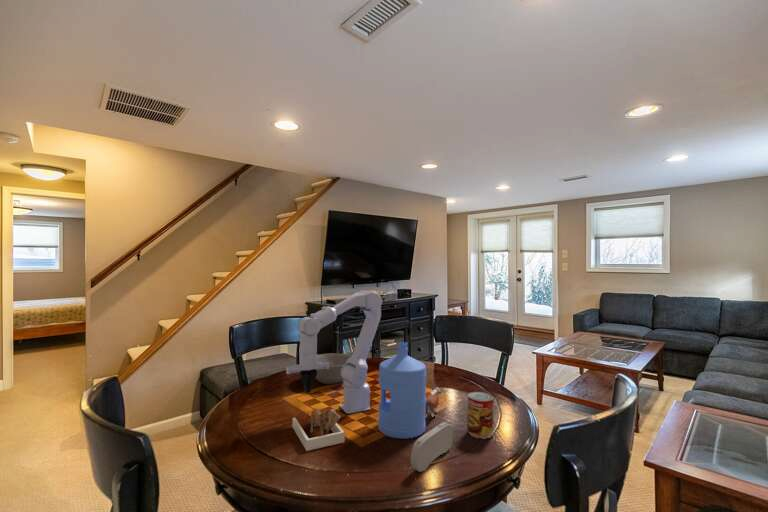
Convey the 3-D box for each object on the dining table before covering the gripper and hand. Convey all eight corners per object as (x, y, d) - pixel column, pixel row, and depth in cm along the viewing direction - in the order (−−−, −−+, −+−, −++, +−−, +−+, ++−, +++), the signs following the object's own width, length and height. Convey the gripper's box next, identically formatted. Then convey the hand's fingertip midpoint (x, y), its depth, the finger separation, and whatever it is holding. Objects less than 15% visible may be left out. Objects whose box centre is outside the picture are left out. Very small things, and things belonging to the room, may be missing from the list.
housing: (326, 420, 124) (326, 411, 124) (344, 442, 109) (344, 432, 109) (292, 427, 118) (292, 417, 118) (306, 451, 103) (306, 440, 103)
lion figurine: (342, 438, 111) (342, 408, 112) (328, 444, 107) (329, 414, 108) (312, 423, 121) (313, 396, 121) (299, 429, 117) (300, 401, 117)
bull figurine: (443, 408, 135) (443, 386, 136) (433, 422, 123) (433, 398, 123) (432, 406, 137) (432, 385, 137) (420, 420, 125) (421, 396, 125)
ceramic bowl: (294, 382, 162) (295, 360, 162) (330, 370, 180) (330, 350, 181) (331, 393, 149) (331, 369, 149) (365, 379, 168) (365, 358, 168)
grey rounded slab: (446, 445, 108) (446, 417, 108) (453, 448, 107) (453, 419, 107) (409, 474, 93) (409, 441, 93) (416, 477, 91) (417, 444, 92)
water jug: (427, 421, 124) (429, 339, 125) (422, 443, 109) (423, 350, 110) (383, 416, 128) (385, 337, 128) (372, 436, 112) (374, 346, 113)
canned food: (462, 430, 118) (463, 393, 118) (482, 426, 121) (482, 390, 121) (477, 441, 111) (477, 402, 111) (498, 437, 114) (498, 398, 114)
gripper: (324, 347, 131) (324, 385, 131) (284, 351, 125) (283, 391, 124) (331, 352, 125) (330, 391, 125) (289, 356, 118) (288, 398, 118)
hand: (307, 392), depth 124 cm, fingers closed
